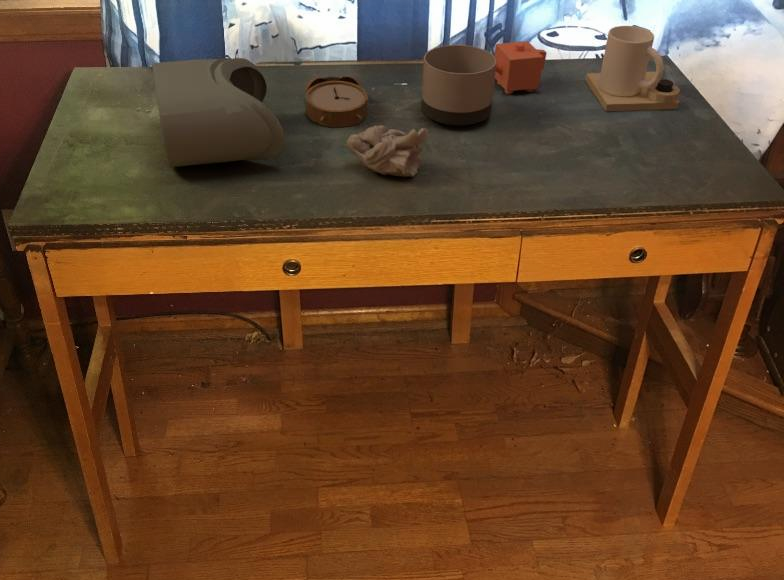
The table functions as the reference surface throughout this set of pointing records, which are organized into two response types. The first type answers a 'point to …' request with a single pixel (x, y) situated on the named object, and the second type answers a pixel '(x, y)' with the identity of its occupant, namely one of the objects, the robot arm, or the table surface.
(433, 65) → the planter
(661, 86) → the button
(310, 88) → the alarm clock
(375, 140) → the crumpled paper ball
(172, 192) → the table surface
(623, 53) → the mug
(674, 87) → the scale
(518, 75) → the orange footed box
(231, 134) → the grey curved shell
